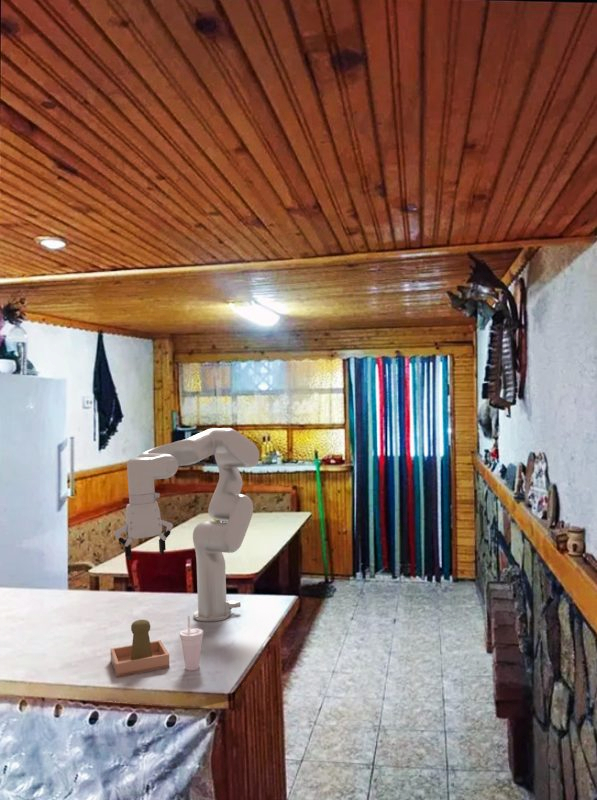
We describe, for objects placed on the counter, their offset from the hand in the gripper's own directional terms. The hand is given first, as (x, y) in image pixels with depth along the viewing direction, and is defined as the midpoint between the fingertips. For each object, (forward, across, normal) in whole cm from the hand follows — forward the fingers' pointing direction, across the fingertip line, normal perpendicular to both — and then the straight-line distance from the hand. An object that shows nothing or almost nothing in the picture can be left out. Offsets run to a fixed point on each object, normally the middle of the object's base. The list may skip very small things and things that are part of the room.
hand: (145, 555), depth 194 cm
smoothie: (+26, -6, +24) cm, 36 cm away
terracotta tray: (+26, +6, +14) cm, 30 cm away
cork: (+25, +6, +14) cm, 30 cm away
